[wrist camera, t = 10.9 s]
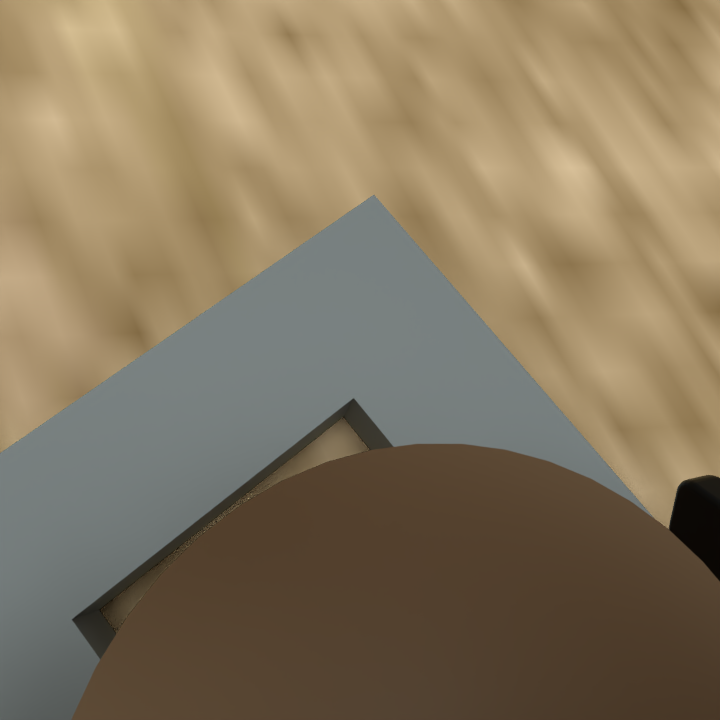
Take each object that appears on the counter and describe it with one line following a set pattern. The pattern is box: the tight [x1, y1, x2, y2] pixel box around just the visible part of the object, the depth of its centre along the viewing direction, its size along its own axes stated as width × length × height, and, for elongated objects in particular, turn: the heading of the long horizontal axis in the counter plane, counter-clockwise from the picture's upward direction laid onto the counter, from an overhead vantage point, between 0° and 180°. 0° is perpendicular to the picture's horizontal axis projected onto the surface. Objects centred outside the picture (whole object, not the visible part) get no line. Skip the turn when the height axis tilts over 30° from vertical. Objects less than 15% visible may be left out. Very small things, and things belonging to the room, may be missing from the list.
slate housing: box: [0, 195, 652, 720], centre depth 15 cm, size 14×14×2 cm
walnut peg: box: [71, 444, 720, 720], centre depth 10 cm, size 5×5×12 cm
